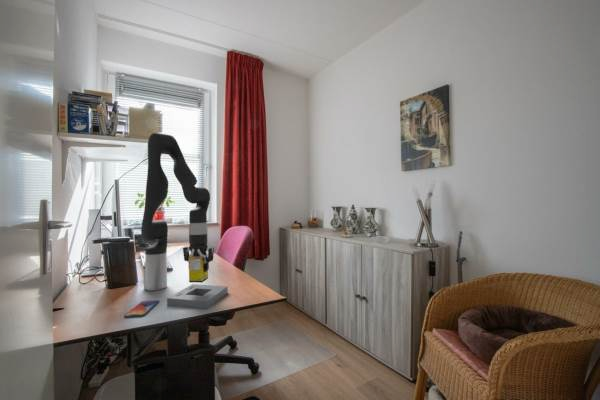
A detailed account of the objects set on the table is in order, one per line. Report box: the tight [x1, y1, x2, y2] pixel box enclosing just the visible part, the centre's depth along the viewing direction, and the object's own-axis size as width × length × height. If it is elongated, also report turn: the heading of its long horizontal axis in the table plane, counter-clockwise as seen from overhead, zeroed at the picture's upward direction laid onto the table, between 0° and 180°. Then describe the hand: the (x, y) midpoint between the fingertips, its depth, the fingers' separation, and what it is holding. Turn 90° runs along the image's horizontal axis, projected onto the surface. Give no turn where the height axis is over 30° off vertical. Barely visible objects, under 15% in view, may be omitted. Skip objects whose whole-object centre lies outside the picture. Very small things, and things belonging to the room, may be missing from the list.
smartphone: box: [123, 299, 160, 319], centre depth 107 cm, size 7×15×1 cm, turn 7°
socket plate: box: [166, 283, 229, 310], centre depth 117 cm, size 18×18×3 cm
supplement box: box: [188, 255, 209, 283], centre depth 117 cm, size 6×6×11 cm
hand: (198, 270), depth 117 cm, fingers closed on supplement box, 6 cm apart
